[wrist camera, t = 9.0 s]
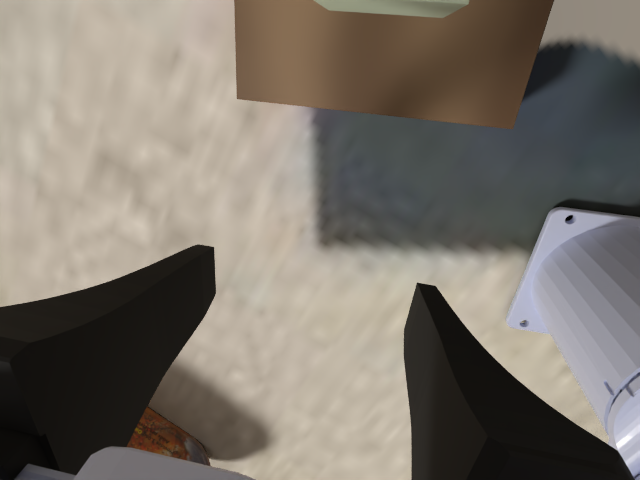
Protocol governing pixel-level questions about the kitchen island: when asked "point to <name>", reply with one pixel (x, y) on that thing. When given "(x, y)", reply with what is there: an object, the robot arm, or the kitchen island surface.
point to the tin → (166, 439)
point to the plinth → (391, 59)
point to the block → (397, 6)
